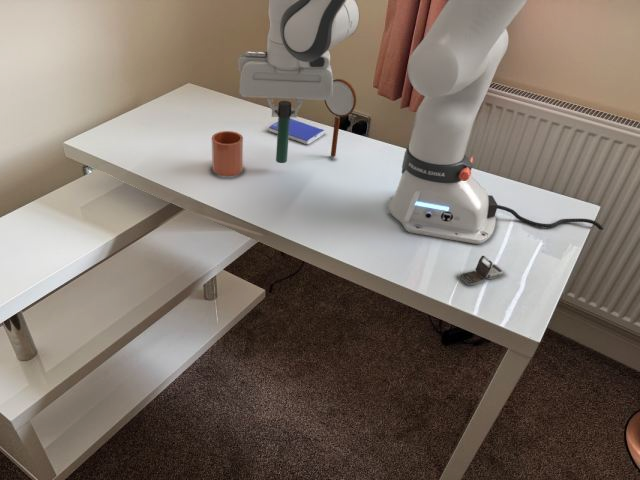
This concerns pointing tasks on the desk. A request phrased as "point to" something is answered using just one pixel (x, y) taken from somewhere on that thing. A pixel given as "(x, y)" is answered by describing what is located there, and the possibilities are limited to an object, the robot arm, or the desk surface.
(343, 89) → the magnifying glass
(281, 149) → the marker
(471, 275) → the strap clip
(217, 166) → the pen holder
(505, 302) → the desk surface
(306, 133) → the hard drive
